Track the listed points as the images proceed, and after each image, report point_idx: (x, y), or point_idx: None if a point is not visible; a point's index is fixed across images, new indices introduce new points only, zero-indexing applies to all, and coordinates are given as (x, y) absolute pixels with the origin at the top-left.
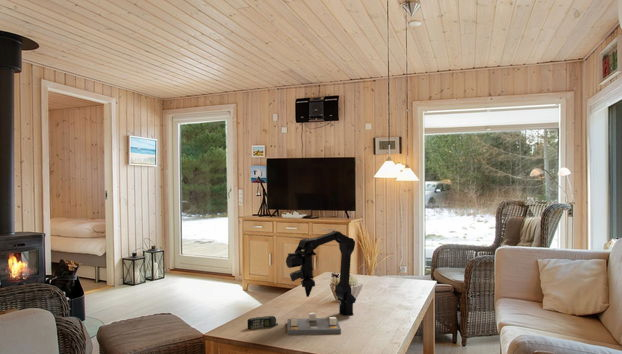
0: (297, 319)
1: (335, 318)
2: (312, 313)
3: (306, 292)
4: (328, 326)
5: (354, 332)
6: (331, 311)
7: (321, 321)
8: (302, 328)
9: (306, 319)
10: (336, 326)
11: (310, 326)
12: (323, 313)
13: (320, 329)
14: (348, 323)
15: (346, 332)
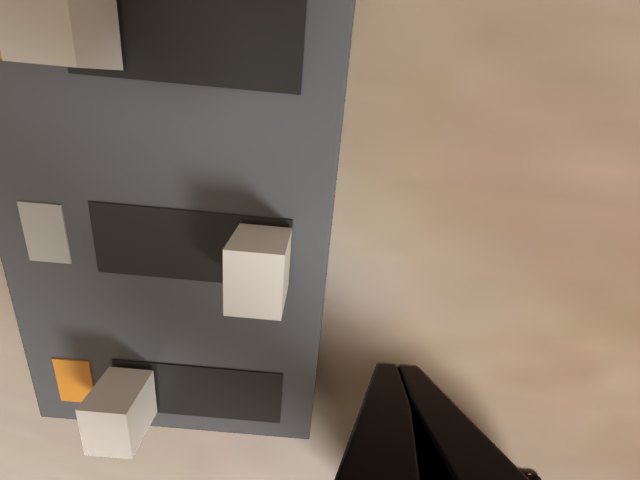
0: (5, 60)
1: (87, 450)
2: (254, 287)
3: (345, 454)
4: (95, 351)
5: (96, 462)
6: (574, 430)
7: (226, 323)
8: (9, 114)
9: (300, 199)
10: None
11: (80, 206)
12: (548, 370)
13: (9, 279)
14: (271, 469)
15: None
